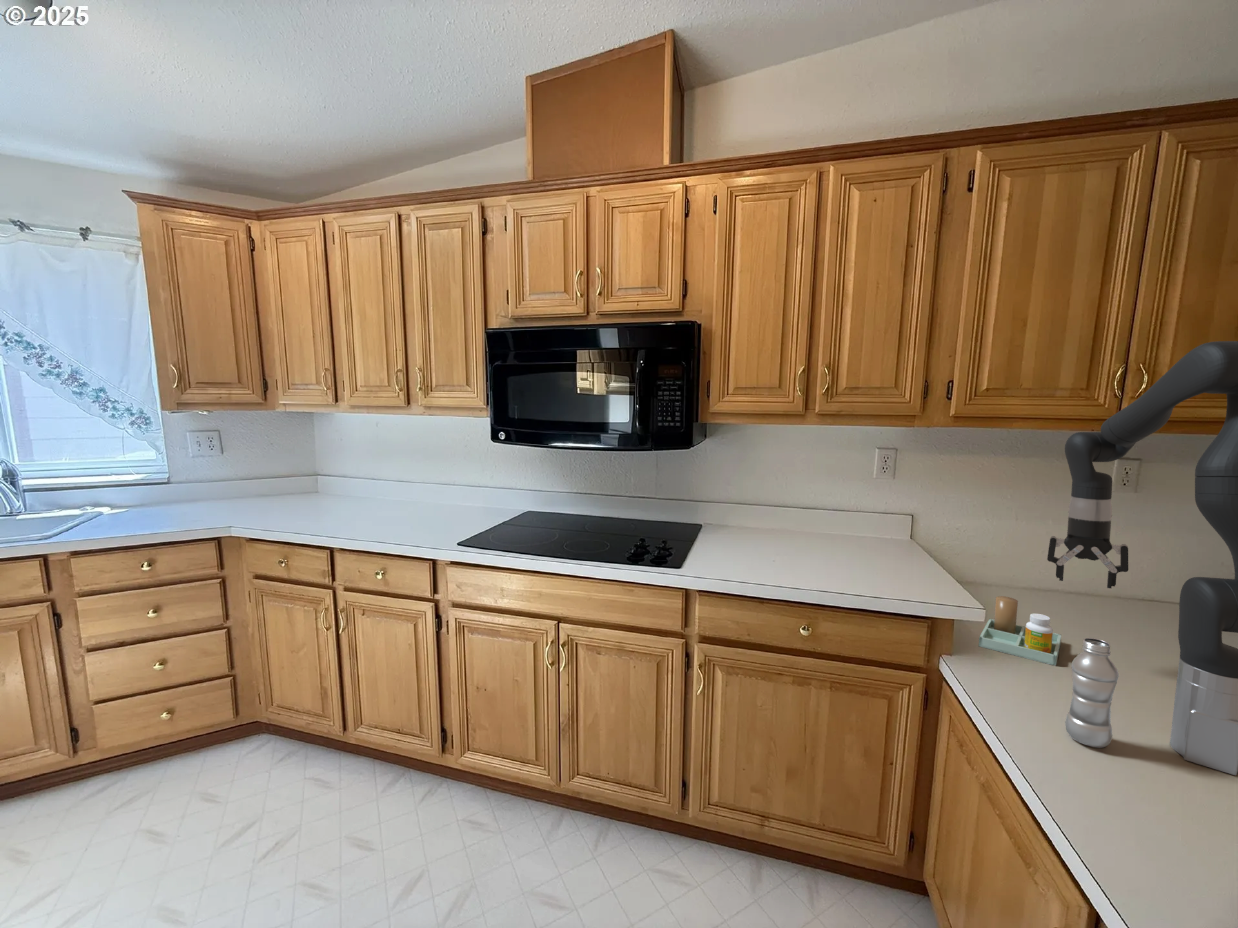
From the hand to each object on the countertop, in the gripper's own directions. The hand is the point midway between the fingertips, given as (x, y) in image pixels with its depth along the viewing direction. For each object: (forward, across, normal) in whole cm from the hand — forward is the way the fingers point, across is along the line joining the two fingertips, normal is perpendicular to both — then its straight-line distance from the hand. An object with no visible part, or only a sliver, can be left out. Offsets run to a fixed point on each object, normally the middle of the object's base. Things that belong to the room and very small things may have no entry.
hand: (1084, 583), depth 124 cm
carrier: (+21, -12, +7) cm, 25 cm away
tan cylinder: (+20, -16, +11) cm, 28 cm away
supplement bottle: (+21, -8, +3) cm, 22 cm away
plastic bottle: (+22, +2, -34) cm, 41 cm away
